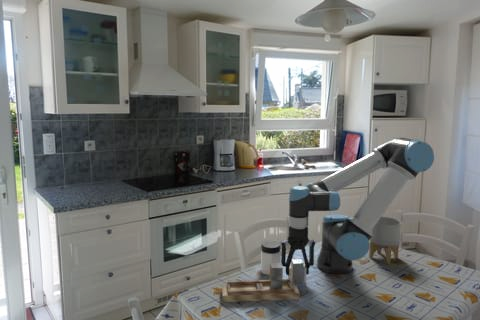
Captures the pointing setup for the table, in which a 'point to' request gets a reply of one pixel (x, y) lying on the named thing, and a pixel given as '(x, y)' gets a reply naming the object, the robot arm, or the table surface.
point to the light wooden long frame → (261, 288)
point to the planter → (385, 237)
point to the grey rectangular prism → (297, 271)
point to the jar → (269, 255)
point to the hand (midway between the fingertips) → (296, 281)
